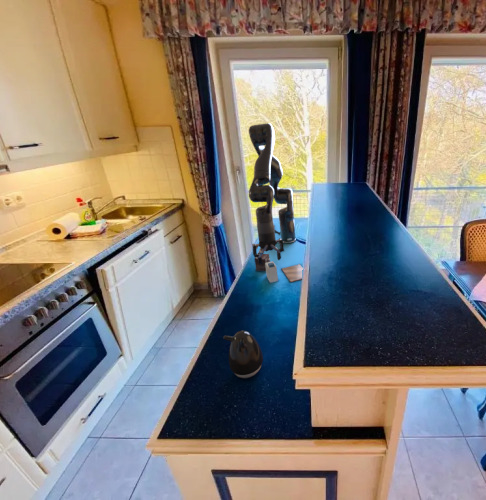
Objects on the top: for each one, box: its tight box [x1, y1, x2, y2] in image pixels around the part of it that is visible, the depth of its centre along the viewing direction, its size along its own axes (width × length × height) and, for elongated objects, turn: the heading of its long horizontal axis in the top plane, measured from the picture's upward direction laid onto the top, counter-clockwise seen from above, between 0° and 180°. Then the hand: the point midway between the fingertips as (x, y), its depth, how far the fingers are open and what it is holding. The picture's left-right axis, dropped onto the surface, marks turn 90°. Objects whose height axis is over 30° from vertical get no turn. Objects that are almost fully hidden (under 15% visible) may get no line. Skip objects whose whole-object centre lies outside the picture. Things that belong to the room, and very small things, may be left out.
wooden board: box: [281, 263, 304, 283], centre depth 141 cm, size 14×10×1 cm
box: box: [253, 253, 271, 272], centre depth 144 cm, size 6×6×7 cm
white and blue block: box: [265, 260, 279, 284], centre depth 135 cm, size 6×4×9 cm, turn 24°
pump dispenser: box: [223, 329, 264, 379], centre depth 85 cm, size 10×10×15 cm
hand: (270, 261), depth 132 cm, fingers open, 8 cm apart
